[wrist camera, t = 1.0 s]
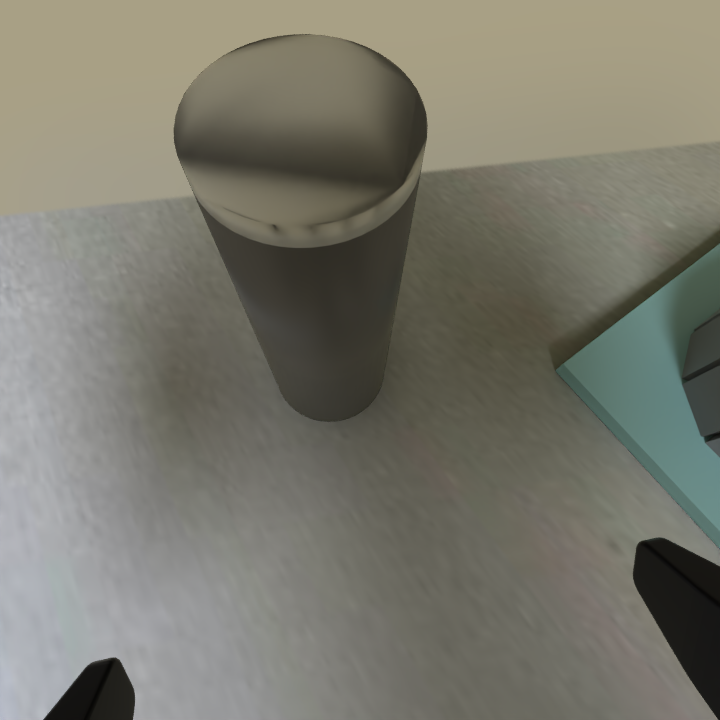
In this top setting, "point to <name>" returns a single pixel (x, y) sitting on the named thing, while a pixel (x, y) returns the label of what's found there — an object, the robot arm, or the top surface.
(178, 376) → the top surface
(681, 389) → the socket
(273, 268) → the plug
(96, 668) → the robot arm
